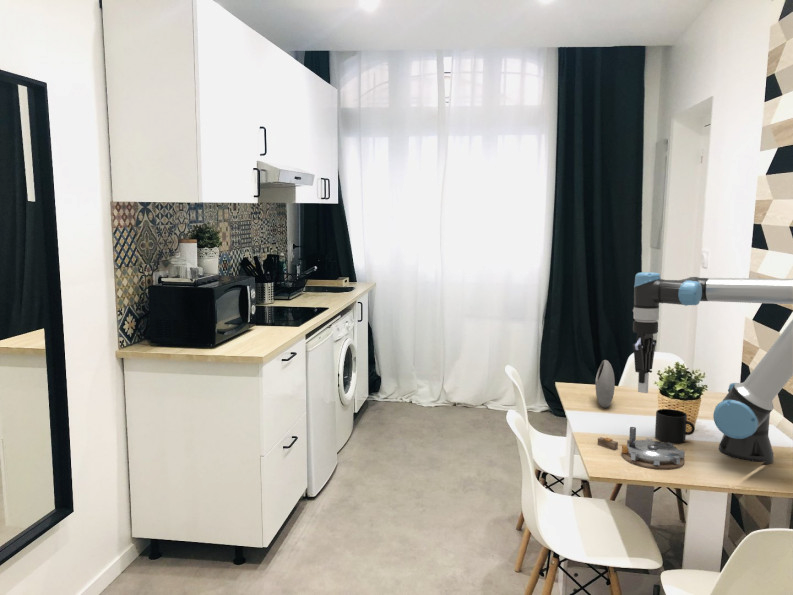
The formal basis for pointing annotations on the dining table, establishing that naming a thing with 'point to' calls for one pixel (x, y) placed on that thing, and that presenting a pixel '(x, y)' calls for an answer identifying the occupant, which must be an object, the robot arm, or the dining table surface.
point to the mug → (671, 426)
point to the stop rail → (608, 443)
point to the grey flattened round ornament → (605, 384)
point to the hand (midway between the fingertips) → (642, 392)
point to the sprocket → (651, 450)
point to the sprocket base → (651, 465)
